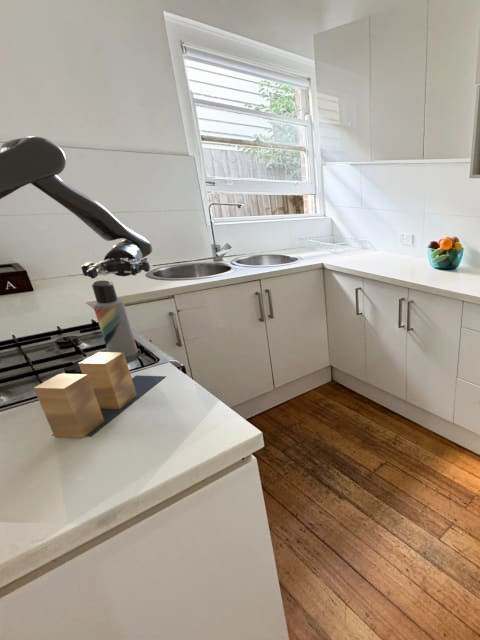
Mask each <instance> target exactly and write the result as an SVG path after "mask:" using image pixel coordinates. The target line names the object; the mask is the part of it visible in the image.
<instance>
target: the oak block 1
mask: <svg viewBox="0 0 480 640" xmlns="http://www.w3.org/2000/svg"><path fill="white" fill-rule="evenodd" d="M33 390H34V392H35V395H36V397H37V399H38V401H39V404H40V407H41V409H42V411H43V413H44V415H45V418H46V421H47V422H48V425H49V427H50V430H51V432H52V435H53V434H54V436H53V437H54V438H65V439H66V438H67V439H68V438H70V439H73V438H74V439H84V438H85V436H86V435H88V434H89V433H90V432H91V431H93V430H94V429H95V428H97V427H98V426H99V425H100V424H102V423H103V422H104V418H103V415H102V413H101V410H100V407H99V404H98V401H97V399H96V396H95V393H94V390H93V388H92V385H91V382H90V379H89V376H88V374H82V373H58V374H56V375H54V376H52V377H51V378H49V379H47V380H45V381H43V382H42V383H40V384H38V385H36V386H34V387H33Z"/></svg>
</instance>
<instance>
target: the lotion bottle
mask: <svg viewBox="0 0 480 640" xmlns="http://www.w3.org/2000/svg"><path fill="white" fill-rule="evenodd" d="M91 288H92V290H93V294H94V297H95V301H96V302H93V304H92V307H93V310H94V313H95V316H96V320H97V323H98V326H99V329H100V332H101V334H102V338H103V341H104V344H105V347H106V350H107V352H119V353H124V355H125V358H126V361H127V364H129V363H132V362H134V361H137V360H138V359H139V358H140V355H137V354H138V352H139V351H138V347H137V344H136V340H135V337H134V332H133V330H132V327H131V322H130V319H129V316H128V313H127V309H126V306H125V303H124V301H123V299H120V298H118V296H117V292H116V289H115V286H114V283H113V281H111V280H96V281H94V282H93V284H91Z"/></svg>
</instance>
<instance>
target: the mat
mask: <svg viewBox="0 0 480 640" xmlns="http://www.w3.org/2000/svg"><path fill="white" fill-rule="evenodd" d="M131 378H132V381H133V384H134V387H135V391H136V394H137V396H136V397H135V398H134V399H132V400H131V401H130V402H128V403H127V404H126V405H125V406H123V407H122V408H121V409H100V410H101V413H102V415H103V418H104V422H103V423H102V424H100V425H99V426H98V427H97V428H95V429H94V430H93V431H91V432H90V433H89V434H88V435H86V436H85V437H86V438H87V437H90V438H92V437H93V436H94V435H96V434H97V433H98V432H99V431H100V430H102V429H103V428H105V426H107V425H108V424H109V423H111V422H112V421H113V420H114V419H115V418H117V417H118V416H119V415H121V414H122V413H123V412H124V411H125V410H127V409H128V408H129V407H130V406H132V405H133V404H134V403H136V401H138V400H139V399H140V398H142V397H143V396H145V394H147V393H148V392H149V391H150V390H152V389H153V388H154V387H155V386H157V385H158V384H159V383H160V382H162V381H163V380H164V379H166V378H167V376H166V375H134V376H133V377H131ZM51 436H52V437H55V436H54V434H53V433H52V434H51ZM85 437H84V438H85Z"/></svg>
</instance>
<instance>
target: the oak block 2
mask: <svg viewBox="0 0 480 640" xmlns="http://www.w3.org/2000/svg"><path fill="white" fill-rule="evenodd" d="M126 360H127V358H125V355H124V353H119V352H108V351H97V352H95V353H94V354H92V355H91V356H88V357H86V358H85V359H83V360H82V361H79V362H78V366H79V369H80V372H81V374H88V376H89V379H90V382H91V385H92V388H93V390H94V393H95V396H96V399H97V401H98V404H99V407H100V409H121V408H122V407H123V406H125V405H126V404H127V403H128V402H130V401H131V400H132V399H134V398H135V397H136V396H137V394H136V391H135V387H134V384H133V381H132V378H133V377H132V375H131V371H130V368H129V365H128V363H127V361H126Z"/></svg>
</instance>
